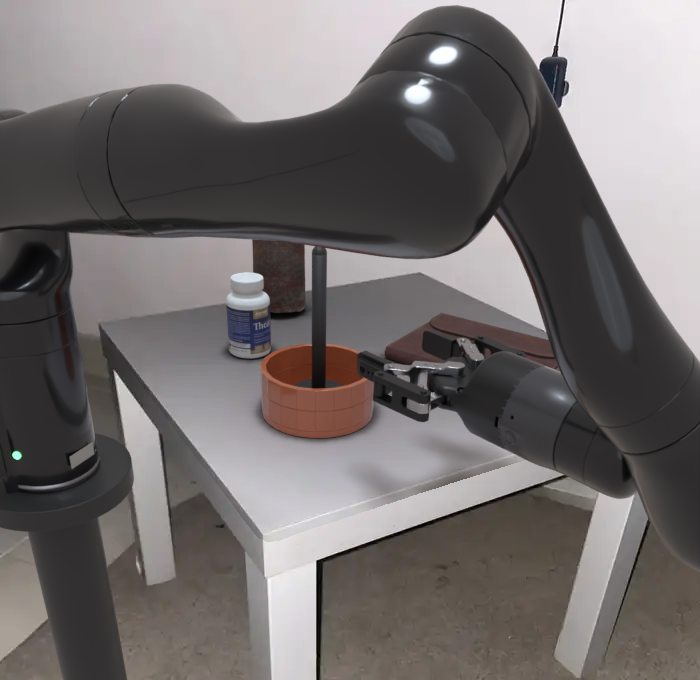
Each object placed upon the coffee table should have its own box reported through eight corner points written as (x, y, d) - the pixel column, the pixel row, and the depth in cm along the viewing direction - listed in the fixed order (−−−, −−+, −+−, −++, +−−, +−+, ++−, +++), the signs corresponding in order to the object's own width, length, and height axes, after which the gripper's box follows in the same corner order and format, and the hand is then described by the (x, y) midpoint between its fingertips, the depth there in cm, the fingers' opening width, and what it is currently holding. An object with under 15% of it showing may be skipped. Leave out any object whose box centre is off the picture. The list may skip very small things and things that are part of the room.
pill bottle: (260, 362, 96) (258, 286, 91) (221, 356, 97) (216, 280, 92) (278, 346, 100) (276, 273, 95) (240, 340, 102) (236, 268, 97)
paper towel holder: (304, 422, 82) (303, 257, 72) (282, 398, 86) (279, 240, 77) (355, 411, 84) (360, 250, 75) (331, 389, 88) (333, 234, 79)
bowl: (288, 448, 78) (287, 399, 76) (246, 398, 88) (244, 353, 85) (392, 424, 83) (395, 378, 80) (342, 380, 92) (343, 337, 90)
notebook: (528, 401, 89) (531, 386, 88) (384, 359, 98) (384, 344, 97) (576, 360, 99) (578, 345, 98) (441, 324, 109) (442, 311, 108)
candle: (292, 324, 107) (290, 173, 97) (245, 316, 110) (238, 167, 99) (313, 306, 114) (313, 162, 103) (268, 299, 116) (264, 157, 105)
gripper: (591, 347, 65) (447, 296, 75) (481, 394, 57) (336, 329, 67) (575, 425, 69) (440, 367, 79) (470, 480, 60) (335, 407, 71)
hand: (393, 350), depth 73 cm, fingers open, 8 cm apart
